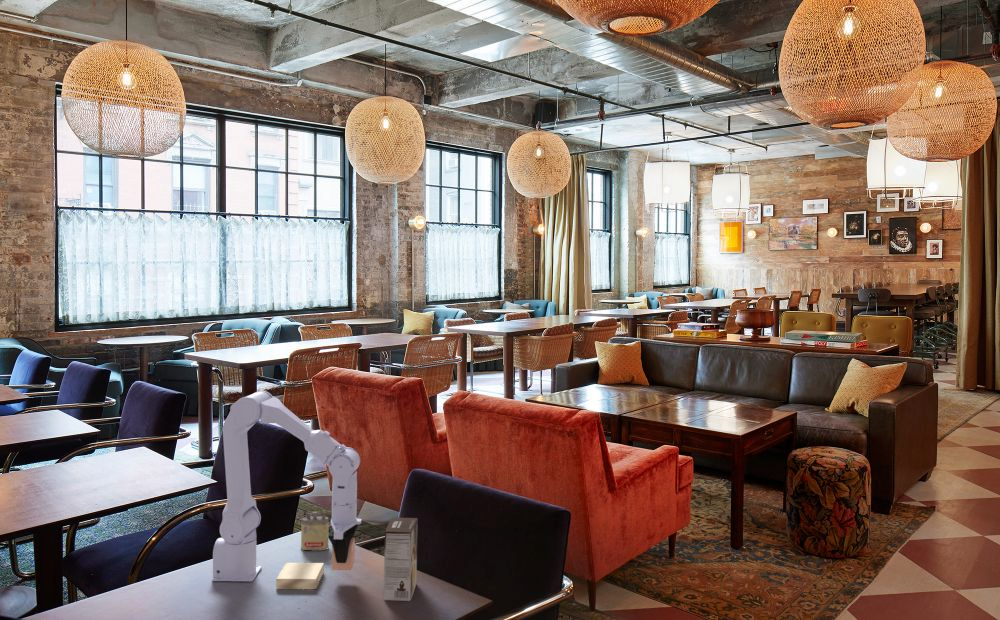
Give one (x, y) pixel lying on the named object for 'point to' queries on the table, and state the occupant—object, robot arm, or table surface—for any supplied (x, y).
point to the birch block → (300, 576)
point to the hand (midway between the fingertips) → (343, 558)
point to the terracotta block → (349, 561)
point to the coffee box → (400, 559)
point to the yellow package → (314, 531)
